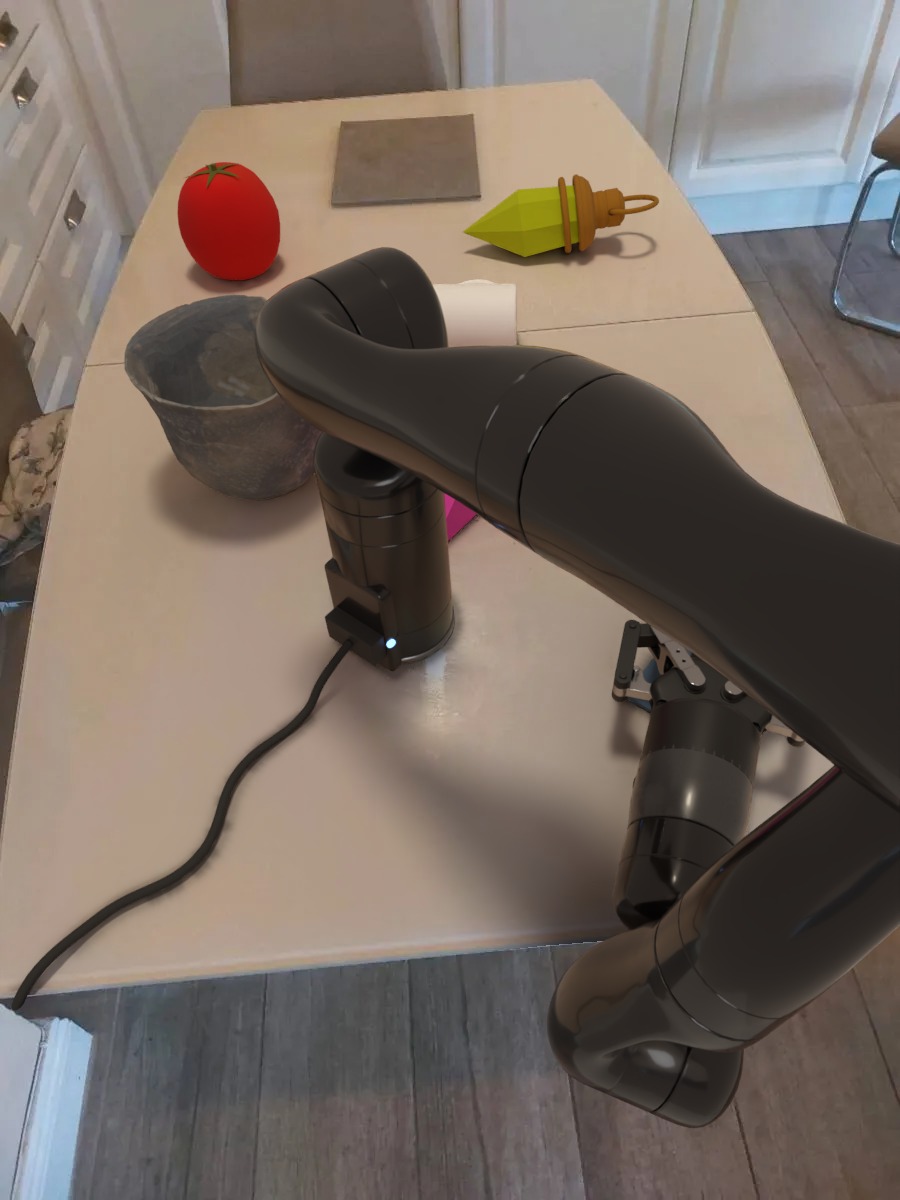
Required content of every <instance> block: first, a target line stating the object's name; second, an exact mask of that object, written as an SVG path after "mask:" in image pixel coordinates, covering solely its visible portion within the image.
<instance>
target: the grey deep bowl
mask: <svg viewBox="0 0 900 1200" xmlns="http://www.w3.org/2000/svg"><path fill="white" fill-rule="evenodd" d="M267 300H268V299H266V298H265V297H263V296H252V295H251V296H250V295H245V294H224V295H219V296H214V297H208V298H204V299H200V300H196V301H192V302H191V303H184V304H181V305H179V306H176V307H174V308H172V309H169V310H167V311H165V312H163V313H161V314H159V315H158V316H155V318H153V319H151V320H149V321H148V322H147V323H145V324H144V325H142V326H141V327H140V328H139V329H138V330H137V331H136V332H135V333H134V334H133V335H132V336H131V337H130V339H129V341H128V343H127V344H126V347H125V351H124V358H123V359H124V360H123V362H124V363H123V364H124V371H125V373H126V376H127V377H128V379H129V381H130V383H132V385H133V386H134V387H135V388H136V389H137V390H138V391H139V392H140V393H141V395H142V396H143V397H144V399H145V400H146V401H147V403H148V404H149V406H150V408H151V409H152V411H153V413H154V414H155V415H156V417H157V418H158V420H159V423H160V426H161V427H162V429H163V432H164V435H165V437H166V440H167V442H168V443H169V445H170V448H171V450H172V452H173V455H174V456H175V458H176V459H177V461H178V462H179V463H180V465H182V466H183V467H184V469H185V470H186V471H187V472H188V473H189V474H190V475H191V476H192V477H193V478H194V479H195V480H197V481H198V482H200V483H201V484H202V485H204V486H206V487H207V488H208V489H211V490H212V491H214V492H216V493H218V494H221V495H224V496H226V497H230V498H233V499H239V500H243V501H244V500H245V501H264V500H270V499H275V498H276V497H281V496H283V495H286V494H289V493H291V492H293V491H295V490H297V489H298V488H300V487H301V486H302V485H304V484H305V483H306V482H308V480H309V479H311V477H312V476H313V475H315V471H314V465H313V453H314V448H315V445H316V442H317V440H318V438H319V436H320V434H321V431H319V430H317V429H316V428H314V427H313V426H311V425H310V424H309V423H307V422H306V421H304V420H303V419H302V418H300V417H299V416H298V415H297V414H296V413H295V412H294V411H293V410H292V409H291V408H290V407H289V406H288V405H287V404H286V403H285V402H284V401H283V400H282V399H281V397H280V396H279V395H278V394H277V392H276V391H275V390H274V388H273V387H272V385H271V384H270V382H269V381H268V379H267V377H266V375H265V373H264V372H263V369H262V367H261V365H260V362H259V359H258V356H257V352H256V347H255V340H254V332H255V324H256V320H257V317H258V315H259V312H260V310H261V308H262V307H263V305H264V304H265V303H266V301H267Z"/></svg>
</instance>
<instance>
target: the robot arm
mask: <svg viewBox="0 0 900 1200" xmlns="http://www.w3.org/2000/svg"><path fill="white" fill-rule="evenodd" d="M432 284H433V283H432V280H431V279H430V277H429V275H428V274H427V273H426V271H425V270H424V269H423V268H422V266H421V265H420V264H419V263H418V262H417V261H416V260H415V259H414V258H413V257H412V256H410V255H409V254H407V253H406V252H404V251H402V250H400V249H398V248H395V247H391V246H381V247H377V248H372V249H370V250H366V251H364V252H362V253H359V254H357V255H354V256H352V257H350V258H347V259H344V260H343V261H340V262H338V263H335V264H333V265H331V266H329V267H326V268H324V269H321V270H319V271H317V272H314V273H312V274H309V275H307V276H305V277H302V278H300V279H297V280H295V281H293V282H291V283H289V284H287V285H286V286H284V287H282V288H280V289H279V291H277V292H276V293H275V294H273V295H272V296H270V297H269V298H268V299H266V300H267V301H266V303H265V304H264V305H263V307H262V308H261V310H260V312H259V315H258V317H257V320H256V324H255V332H254V340H255V347H256V352H257V356H258V359H259V362H260V365H261V367H262V369H263V372H264V373H265V375H266V377H267V379H268V381H269V382H270V384H271V385H272V387H273V388H274V390H275V391H276V392H277V394H278V395H279V396H280V397H281V399H282V400H283V401H284V402H285V403H286V404H287V405H288V406H289V407H290V408H291V409H292V410H293V411H294V412H295V413H296V414H297V415H298V416H299V417H300V418H302V419H303V420H304V421H306V422H307V423H309V424H310V425H311V426H313V427H314V428H316V429H317V430H319V431H321V434H320V436H319V438H318V440H317V442H316V445H315V448H314V453H313V465H314V471H315V473H314V477H315V481H316V484H317V485H316V486H317V489H318V494H319V497H320V502H321V507H322V511H323V517H324V523H325V528H326V531H327V537H328V540H329V546H330V550H331V556H332V557H331V558H330V559H329V560H328V561H327V562H325V564H324V572H325V576H326V580H327V581H326V582H327V584H328V589H329V594H330V598H331V599H330V600H331V603H332V607H333V609H331V610H330V611H329V612H328V613H327V614H326V615H325V616H324V620H325V623H326V628H327V632H328V637H329V638H331V639H332V640H334V641H335V642H337V643H338V644H340V647H339V648H338V649H337V651H336V652H335V654H333V656H332V657H331V658H330V660H329V662H328V663H327V664H326V666H325V667H324V669H323V670H322V671H321V673H320V675H319V676H318V678H317V679H316V681H315V683H314V685H313V688H312V690H311V692H310V695H309V697H308V700H307V702H306V703H305V705H304V707H302V709H301V710H300V711H299V712H298V714H297V715H295V717H294V718H293V719H292V720H291V721H290V722H289V723H288V724H286V725H285V726H284V727H283V728H281V729H280V730H279V731H277V732H276V733H274V734H273V735H272V736H270V737H268V738H267V739H266V740H264V741H263V742H261V743H259V744H258V745H257V746H256V747H254V748H253V749H252V750H250V751H249V753H247V755H245V756H244V757H243V759H241V761H240V762H238V764H237V765H236V767H234V769H233V770H232V772H231V773H230V775H229V777H228V779H227V780H226V781H225V784H224V786H223V788H222V791H221V794H220V796H219V799H218V803H217V804H216V805H217V806H216V809H215V812H214V816H213V818H212V822H211V825H210V828H209V830H208V833H207V835H206V836H205V838H204V840H203V842H202V843H201V845H200V846H199V848H198V849H197V850H196V851H195V853H194V854H193V855H192V856H191V857H190V858H189V859H188V860H186V862H185V863H183V864H182V865H181V866H179V867H178V868H177V869H176V870H174V871H172V872H171V873H169V874H167V875H166V876H164V877H162V878H160V879H158V880H156V881H154V882H151V883H149V884H146V885H145V886H142V887H140V888H138V889H136V890H135V889H134V890H133V891H131V892H129V893H127V894H125V895H123V896H121V897H119V898H118V899H116V900H114V901H112V902H111V903H109V904H107V905H105V906H104V907H103V908H101V909H100V910H99V911H97V912H96V913H95V914H93V915H92V916H90V917H89V918H88V919H87V920H85V921H84V922H83V923H81V924H80V925H79V926H77V927H75V929H73V930H72V931H71V932H70V933H68V934H67V935H66V936H65V937H63V938H62V939H61V940H59V941H58V942H57V944H55V945H54V946H53V947H51V948H50V949H49V950H48V951H47V952H46V953H45V954H44V955H42V957H41V958H40V959H39V960H38V961H37V962H36V964H35V965H34V966H33V967H32V968H31V969H30V971H29V972H28V974H27V975H26V976H25V978H24V979H23V981H22V982H21V984H20V986H19V988H18V989H17V991H16V993H15V995H14V997H13V1000H12V1003H11V1010H12V1011H18V1010H20V1009H21V1008H22V1007H23V1005H25V1002H26V999H27V998H28V996H29V994H30V993H31V990H32V989H33V987H34V986H35V984H36V982H37V981H38V980H39V978H40V977H41V976H42V975H43V974H44V972H45V971H46V970H48V968H49V967H50V966H51V965H52V964H53V963H54V962H55V961H56V960H57V959H58V958H59V957H60V956H62V954H64V953H65V952H66V951H67V950H68V949H70V948H71V947H72V946H73V945H74V944H76V943H77V942H78V941H79V940H81V939H82V938H83V937H84V936H86V935H87V934H88V933H89V932H91V931H93V930H94V929H95V928H96V927H98V926H99V925H100V924H102V923H103V922H104V921H106V920H107V919H108V918H110V917H111V916H112V915H114V914H117V912H119V911H121V910H123V909H124V908H126V907H129V906H130V905H132V904H134V903H136V902H138V901H140V900H143V899H145V898H147V897H149V896H152V895H154V894H156V893H158V892H161V891H163V890H165V889H166V888H168V887H170V886H172V885H174V884H175V883H178V882H179V881H180V880H183V878H185V877H186V876H187V875H188V874H190V873H191V872H192V871H193V870H194V869H196V867H197V866H198V865H200V864H201V862H203V860H204V859H205V858H206V856H207V855H208V854H209V852H210V851H211V849H212V848H213V846H214V844H215V843H216V840H217V838H218V836H219V834H220V831H221V829H222V826H223V823H224V820H225V816H226V812H227V809H228V806H229V802H230V799H231V796H232V794H233V791H234V789H235V787H236V785H237V783H238V781H239V780H240V779H241V777H242V776H243V774H244V773H245V771H246V770H247V769H248V768H249V767H250V766H251V765H252V764H253V763H254V762H255V761H256V760H257V759H258V758H259V757H261V756H262V755H263V754H265V753H266V752H267V751H269V750H270V749H272V748H273V747H274V746H276V745H277V744H279V743H280V742H281V741H283V740H284V739H286V738H287V737H289V736H290V735H291V734H292V733H293V732H295V731H296V730H297V729H298V728H299V727H300V726H301V725H302V724H303V723H304V722H305V721H306V720H307V718H308V717H309V716H310V715H311V714H312V712H313V711H314V709H315V707H316V705H317V703H318V701H319V699H320V697H321V693H322V692H323V689H324V687H325V685H326V684H327V682H328V681H329V679H330V677H331V676H332V674H333V673H334V672H335V670H336V669H337V667H338V666H339V665H340V663H341V662H342V661H343V659H344V658H345V657H346V655H347V654H348V653H349V651H351V652H352V653H353V654H355V655H356V656H357V657H359V658H361V659H362V660H364V661H365V662H367V663H368V664H370V665H371V666H373V667H377V666H378V665H380V666H381V667H383V668H384V669H386V670H388V671H389V672H395V671H396V670H397V669H398V668H399V667H401V666H403V665H406V664H413V663H416V662H420V661H423V660H424V659H427V658H428V657H431V656H432V655H434V654H436V653H437V652H438V651H439V650H440V649H442V648H443V647H444V646H445V645H446V643H447V642H448V640H449V639H450V638H451V636H452V633H453V630H454V627H455V622H456V621H455V618H456V617H455V609H454V604H453V592H452V580H451V568H450V567H451V565H450V554H449V552H450V551H449V540H448V538H447V524H446V511H445V496H444V493H445V494H447V495H448V496H450V497H452V498H453V499H455V500H456V501H458V502H460V503H461V504H463V505H464V506H466V507H467V508H469V509H470V510H471V511H473V512H474V513H476V515H477V516H479V518H481V519H483V520H484V521H486V522H487V523H489V524H490V525H492V527H494V528H496V529H497V530H498V531H500V532H502V533H503V534H505V535H506V536H508V537H510V538H511V539H513V540H514V541H516V542H518V544H520V545H522V546H524V547H525V548H527V549H529V550H530V551H532V552H533V553H535V554H536V555H538V556H539V557H541V558H542V559H544V560H546V561H547V562H549V563H551V564H552V565H554V566H555V567H558V568H560V569H562V570H563V571H565V572H567V573H569V574H571V575H572V576H574V577H576V578H578V579H579V580H581V581H583V582H584V583H586V584H587V585H589V586H590V587H592V588H594V589H595V590H597V591H599V592H600V593H601V594H603V595H604V596H605V597H607V598H608V599H610V600H612V601H613V602H614V603H616V604H617V605H619V606H621V607H622V608H623V609H624V610H627V611H628V612H629V613H631V614H633V615H634V616H636V617H637V618H639V619H640V620H642V621H643V622H644V623H640V622H639V621H638V620H637V619H629V620H627V621H626V622H625V623H624V627H623V631H622V637H621V641H620V642H621V643H620V647H619V652H618V656H617V660H616V661H617V662H616V667H615V671H614V677H613V684H612V690H611V698H612V699H613V700H614V701H615V702H617V703H624V702H626V701H627V700H628V697H633V698H638V699H643V700H648V701H649V704H650V706H651V711H652V712H651V713H650V717H649V721H648V724H647V729H646V733H645V737H644V741H643V746H642V750H641V753H640V757H639V762H638V766H637V770H636V774H635V776H634V778H633V781H632V791H631V795H630V802H629V811H628V821H627V822H628V823H627V828H626V833H625V837H624V841H623V846H622V850H621V854H620V858H619V862H618V867H617V870H616V875H615V879H614V883H613V889H612V895H611V903H612V905H611V906H612V908H613V912H614V914H615V916H616V918H617V919H618V920H619V922H620V923H621V924H622V925H623V926H624V927H626V929H628V930H626V931H623V932H620V933H618V934H616V935H613V936H611V937H609V938H607V939H604V940H603V941H601V942H599V943H597V944H595V945H593V946H592V947H590V948H589V949H588V950H586V951H585V952H583V954H581V955H580V956H579V957H578V958H576V960H574V961H573V962H572V964H571V965H570V966H569V967H568V968H567V969H566V970H565V972H564V974H562V976H561V978H560V979H559V981H558V983H557V984H556V986H555V989H554V990H553V993H552V996H551V999H550V1000H549V1001H550V1002H549V1005H548V1006H549V1007H548V1010H547V1011H548V1012H547V1018H546V1031H547V1033H546V1034H547V1038H548V1043H549V1046H550V1050H551V1052H552V1054H553V1056H554V1059H555V1060H556V1062H557V1064H558V1065H559V1066H560V1068H561V1069H562V1070H563V1071H564V1072H565V1073H566V1074H567V1075H568V1076H569V1077H571V1078H573V1079H574V1080H576V1081H577V1082H579V1083H581V1084H583V1085H585V1086H587V1087H589V1088H592V1089H594V1090H595V1091H598V1092H600V1093H603V1094H605V1095H608V1096H610V1097H613V1098H615V1099H617V1100H619V1101H621V1102H624V1103H626V1104H629V1105H631V1106H633V1107H635V1108H637V1109H640V1110H642V1111H644V1112H647V1113H649V1114H651V1115H653V1116H656V1117H658V1118H660V1119H662V1120H664V1121H667V1122H669V1123H672V1124H673V1125H677V1126H679V1127H684V1128H688V1129H700V1128H705V1127H707V1126H708V1125H711V1124H713V1123H714V1122H715V1121H717V1120H718V1119H719V1118H720V1117H721V1116H723V1114H724V1113H725V1112H726V1110H727V1109H728V1108H729V1106H730V1105H731V1104H732V1102H733V1100H734V1098H735V1096H736V1094H737V1091H738V1089H739V1086H740V1082H741V1078H742V1075H743V1068H744V1059H745V1058H744V1057H745V1049H747V1048H749V1047H752V1046H754V1045H755V1044H756V1043H758V1042H760V1041H762V1040H763V1039H764V1038H766V1037H767V1036H768V1035H770V1034H771V1033H772V1032H775V1030H777V1029H778V1028H779V1027H781V1026H782V1025H783V1024H785V1023H787V1022H788V1021H789V1020H790V1019H792V1018H793V1017H795V1016H796V1015H797V1014H798V1013H800V1012H801V1011H802V1010H804V1009H805V1008H806V1007H808V1006H810V1004H812V1003H813V1002H814V1001H816V1000H817V999H818V998H819V997H821V996H822V995H824V993H826V992H827V991H828V990H830V988H832V987H833V986H834V985H835V984H837V982H839V981H840V979H842V978H843V977H845V975H846V974H848V973H849V972H850V971H851V970H852V969H853V968H854V967H856V966H857V965H858V964H859V963H860V962H861V961H862V960H863V959H864V958H866V957H867V956H868V954H870V953H871V952H872V951H874V949H875V948H876V947H877V946H879V945H880V944H881V943H882V942H884V940H886V938H888V937H889V936H890V935H891V934H892V933H893V932H895V930H897V929H898V928H899V927H900V542H899V543H898V542H895V541H892V540H889V539H887V538H883V537H880V536H878V535H876V534H873V533H869V532H866V531H864V530H861V529H859V528H856V527H854V526H851V525H849V524H846V523H844V522H841V521H839V520H836V519H834V518H832V517H829V516H826V515H824V514H821V513H819V512H816V511H814V510H811V509H809V508H807V507H804V506H801V505H800V504H798V503H795V502H794V501H791V500H789V499H788V498H786V497H783V496H781V495H779V494H777V492H776V493H775V492H774V491H772V490H771V489H770V488H768V487H766V486H764V485H763V484H761V483H760V482H759V481H757V480H756V479H755V478H753V477H752V476H751V475H750V474H749V473H748V472H746V471H745V469H743V467H742V466H741V465H740V464H739V463H738V462H737V461H736V459H735V458H734V457H733V456H732V454H730V452H729V450H728V449H727V448H726V447H725V446H724V444H723V443H722V442H721V441H720V439H719V438H718V436H716V434H715V433H714V431H713V430H712V429H711V428H710V427H709V426H708V425H707V424H706V422H705V421H704V420H703V419H702V418H701V417H700V416H699V414H697V413H696V412H695V411H694V410H692V409H691V408H690V406H688V405H687V404H686V403H685V402H683V401H682V400H681V399H679V398H678V397H676V396H675V395H674V394H672V393H670V392H668V391H666V390H665V389H663V388H661V387H659V386H657V385H656V384H653V383H652V382H648V381H646V380H645V379H642V378H640V377H637V376H635V375H632V374H630V373H627V372H624V371H622V370H620V369H617V368H614V367H611V366H609V365H607V364H604V363H602V362H599V361H596V360H594V359H591V358H589V357H585V356H583V355H580V354H578V353H574V352H570V351H568V350H563V349H558V348H552V347H544V346H538V345H528V344H527V345H523V344H516V345H488V346H455V347H449V345H448V336H447V328H446V323H445V319H444V315H443V311H442V307H441V304H440V301H439V298H438V296H437V293H436V291H435V289H434V287H433V285H432ZM638 648H639V649H640V648H647V649H648V651H649V652H650V655H651V656H652V657H653V658H654V659H655V661H656V663H657V667H658V671H659V673H660V674H661V676H659V677H658V678H656V679H655V680H654V681H653V682H652V683H649V682H647V681H646V680H645V679H644V674H643V670H642V669H641V668H640V666H639V665H635V662H636V657H637V651H638ZM685 648H686V649H687V650H689V651H690V652H692V653H693V654H695V655H696V656H697V657H692V658H691V657H690V655H689V654H688V652H687V650H686V649H685ZM766 731H767V732H768V731H769V732H772V733H774V734H775V733H776V734H779V735H781V736H785V737H786V742H787V743H788V744H789V745H790V746H791V747H794V748H801V747H803V746H804V744H805V743H806V744H807V745H809V746H810V747H812V749H814V750H815V751H816V752H817V753H819V754H820V755H821V756H822V757H824V758H825V760H827V761H828V762H830V763H831V764H832V766H831V767H830V768H829V769H828V770H827V771H825V772H824V773H823V774H822V775H821V776H820V777H819V778H817V779H816V780H815V781H814V782H813V783H811V784H810V785H809V786H808V787H806V788H805V789H804V790H803V791H802V792H800V793H799V794H798V795H796V796H795V797H794V798H792V799H791V800H790V801H788V802H787V803H786V804H785V805H784V806H782V807H781V808H780V809H778V810H777V811H776V812H775V813H772V815H771V816H769V817H768V818H767V819H765V820H764V821H763V822H761V823H760V824H759V825H758V826H756V827H755V828H754V829H753V830H751V831H750V832H749V833H747V831H748V826H749V821H750V814H751V813H750V812H751V807H752V802H753V801H752V800H753V793H754V786H755V780H756V773H757V767H758V761H759V754H760V748H761V740H762V735H764V734H765V732H766Z"/></svg>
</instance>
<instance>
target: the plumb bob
mask: <svg viewBox="0 0 900 1200" xmlns="http://www.w3.org/2000/svg"><path fill="white" fill-rule="evenodd" d="M571 180H572V181H571V183H572V185H567V184H566V180H565V178H564V176H560V177H558V179H557V186H546V187H545V186H544V187H533V188H521V189H520V188H519V189H517V190H515V191H514V192H512V193H511V194H510V195H509V196H507V197H506V198H505V199H504V200H502V201H501V202H500V203H498V204H497V205H496V206H494V207H493V208H491V209H490V210H489V211H488V212H487V213H485V214H484V215H482V216H481V217H480V218H479V219H477V220H476V221H475V222H474V223H472V224H471V225H470V226H468V227H466V229H464V230H463V231H462V234H466V235H467V236H470V237H473V238H476V239H478V240H481V241H482V242H487V244H491V245H493V246H496V247H498V248H501V249H504V250H506V251H509V252H511V253H513V254H516V255H519V256H521V257H524V258H526V257H530V256H533V255H538V254H540V253H545V252H547V251H548V252H549V251H552V250H556V249H559V248H564V249H563V250H564V252H565V253H566V254H570V253H571V251H572V245H574V244H577V246H578V250H579V251H580V252H584V251H585V250H586V249H588V248H589V247H590V246H591V245H592V243H593V242H594V241H595V238H596V237H595V236H596V231H597V230H598V229H601V230H602V229H605V228H613V227H620V226H621V225H622V223H623V222H624V220H625V217H626V215H632V214H638V213H644V212H647V211H650V210H652V209H654V208H656V207H657V206H658V205H659V203H660V199H659V197H658V196H656V195H653V194H631V195H626V196H624V193H623V192H622V191H621V190H620V189H619V188H618V187H614V188H607V189H604V190H602V189H601V190H597V191H593V188H592V185H591V184H590V181H589V180H588V179H586V178H585V177H583V176H580V175H579V174H577V173H576V174H573V175H572V179H571ZM631 201H651V202H650V203H648V204H645V205H642V206H638V207H634V208H633V207H632V208H626V202H631Z"/></svg>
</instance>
